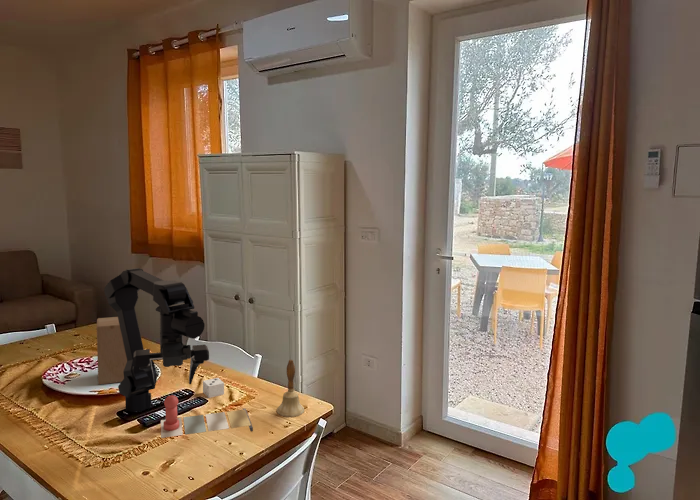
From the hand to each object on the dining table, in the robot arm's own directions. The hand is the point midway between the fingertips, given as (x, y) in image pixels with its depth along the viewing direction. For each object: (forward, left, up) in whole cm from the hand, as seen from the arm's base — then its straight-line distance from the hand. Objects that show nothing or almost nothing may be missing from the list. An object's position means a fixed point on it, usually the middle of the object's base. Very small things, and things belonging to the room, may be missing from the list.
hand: (172, 385), depth 134 cm
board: (+9, 0, -13) cm, 16 cm away
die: (+13, +19, -13) cm, 26 cm away
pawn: (0, 0, -12) cm, 12 cm away
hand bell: (+34, +3, -13) cm, 36 cm away
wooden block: (-17, +43, -13) cm, 48 cm away
